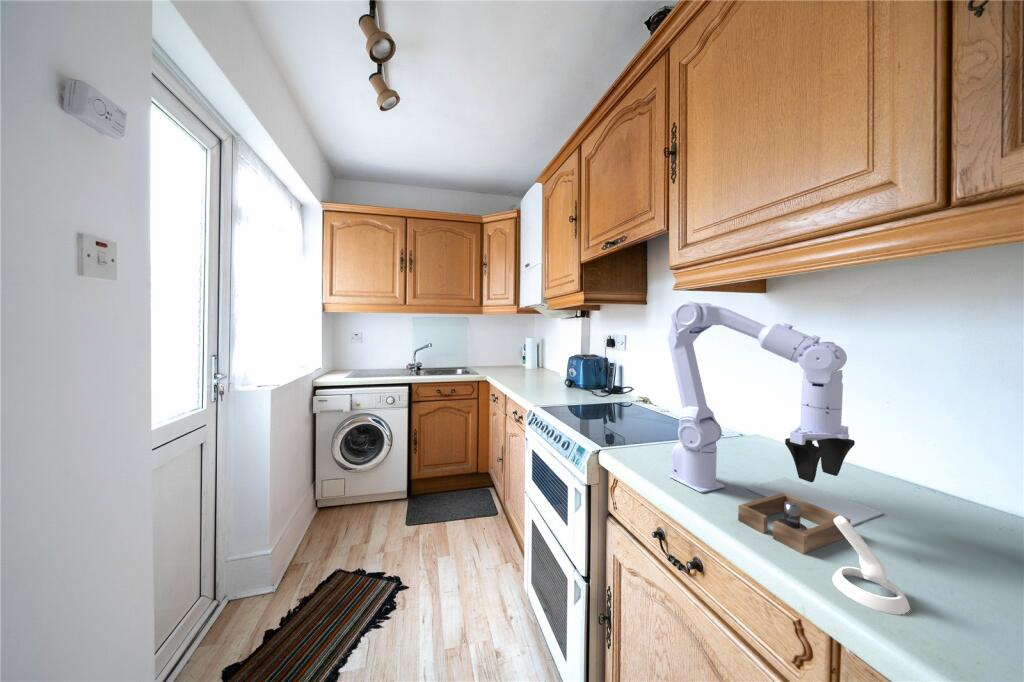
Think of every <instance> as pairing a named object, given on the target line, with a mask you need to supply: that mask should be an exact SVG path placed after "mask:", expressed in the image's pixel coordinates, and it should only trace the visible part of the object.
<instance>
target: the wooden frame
mask: <svg viewBox="0 0 1024 682" xmlns="http://www.w3.org/2000/svg"><path fill="white" fill-rule="evenodd" d="M785 501H791V502H795V503H798V504H799V505H801V518H802V519H804V520H807V521H810V522H812V523H813V524H817V526H813V527H810V528H807V530H805V531H802V532H800V531H798V530H795V529H793V528H791V527H789V526H787V525H785V524H783V523H781V522H778V521H777V520H775V521H773V522H772V523H773V524H772V539H773V540H776V541H778V542H779V543H781V544H783V545H785V546H787V547H789V548H791V549H792V550H794V551H796V552H798V553H800V554H802V555H806V554H807V553H811V552H813V551H815V550H818V549H820V548H823V547H825V546H827V545H830V544H832V543H835V542H837V541H840V540H843V539H846V537H845V536H844V535H843V534H842V532H841V531H840V530H839V529H838V527H837V526H836V524H835V523H834V518H836V517H837V516H841V515H838V514H836V513H833V512H831V511H828V510H826V509H823V508H821V507H818V506H816V505H813V504H810V503H808V502H805V501H803V500H800V499H798V498H795V497H793V496H790V495H788V494H785V493H781V494H777V495H773V496H770V497H763V498H760V499H756V500H752V501H749V502H746V503H741V504H738V506H737V508H738V509H737V510H738V511H737V512H738V514H737V516H738V517H737V518H738V519H737V521H738V522H740V523H743V524H744V525H747V526H748V527H751V528H752V529H754V530H756V531H758V532H760V533H762V534H767V532H768V516H770V515H774V514H777V513H779V512H784V503H785ZM842 517H843V516H842ZM844 518H845V519H846V520H847V521H848V522H849V523H850V522H851V519H848V518H846V517H844Z"/></svg>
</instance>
